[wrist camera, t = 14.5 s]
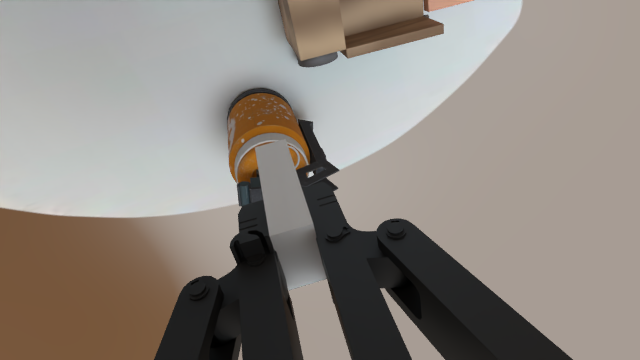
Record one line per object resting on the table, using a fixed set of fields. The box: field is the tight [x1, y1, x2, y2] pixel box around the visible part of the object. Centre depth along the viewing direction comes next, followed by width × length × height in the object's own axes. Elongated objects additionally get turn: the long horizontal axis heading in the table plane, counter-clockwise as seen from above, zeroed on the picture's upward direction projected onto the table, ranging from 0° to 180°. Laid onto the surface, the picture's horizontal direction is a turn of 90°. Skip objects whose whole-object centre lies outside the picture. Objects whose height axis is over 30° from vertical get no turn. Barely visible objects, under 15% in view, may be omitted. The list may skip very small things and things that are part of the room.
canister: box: [227, 89, 339, 206], centre depth 46 cm, size 9×11×20 cm
